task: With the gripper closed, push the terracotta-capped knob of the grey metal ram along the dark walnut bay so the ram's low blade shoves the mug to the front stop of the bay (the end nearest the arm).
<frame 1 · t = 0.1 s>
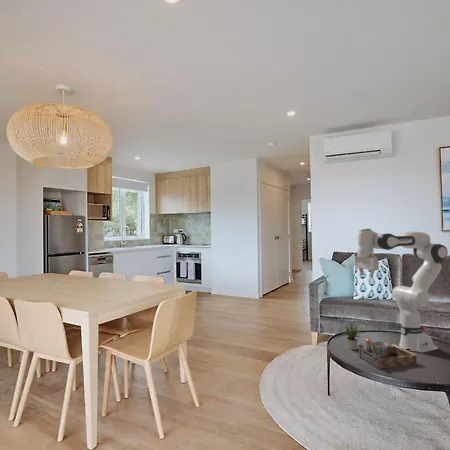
hand: (366, 276, 211), 48 cm above the table, fingers open, 8 cm apart
bay: (386, 360, 195), on the table
ram: (386, 360, 195), resting on bay, slide at 0.0 cm
mug: (380, 361, 194), on the table
house plant: (354, 348, 217), on the table
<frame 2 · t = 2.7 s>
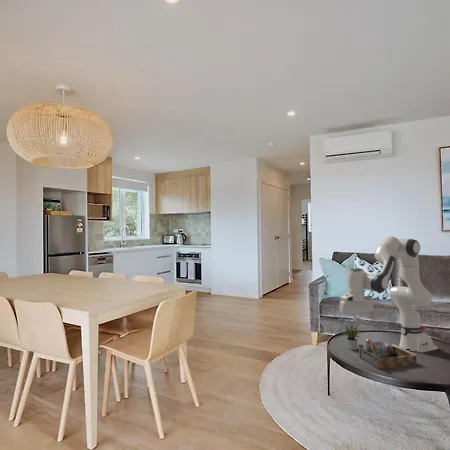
hand: (356, 320, 192), 25 cm above the table, fingers closed
nothing on the table moved.
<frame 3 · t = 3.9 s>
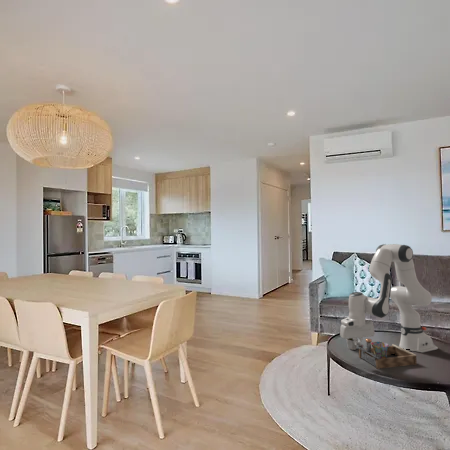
hand: (357, 344, 192), 11 cm above the table, fingers closed
nothing on the table moved.
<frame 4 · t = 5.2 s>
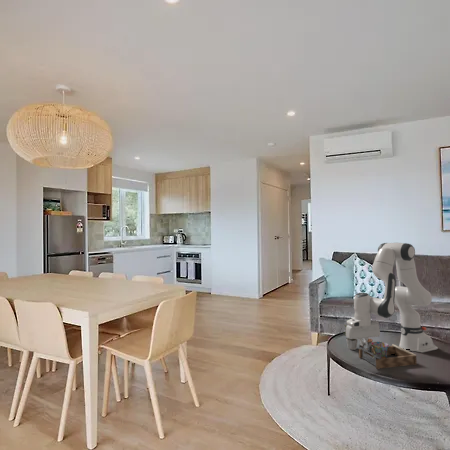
hand: (363, 345, 193), 10 cm above the table, fingers closed
ram: (386, 360, 195), resting on bay, slide at 0.5 cm, touching gripper
everything else where it was.
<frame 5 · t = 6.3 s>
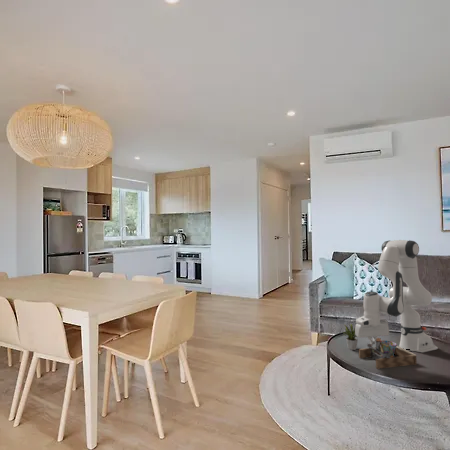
hand: (372, 343, 194), 11 cm above the table, fingers closed
ram: (395, 359, 196), resting on bay, slide at 6.1 cm, touching gripper
mug: (386, 360, 195), on the table
everything else where it was.
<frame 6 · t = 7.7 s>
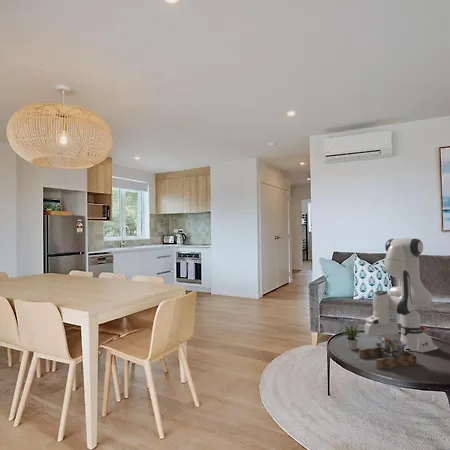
hand: (382, 342, 195), 11 cm above the table, fingers closed
ram: (404, 358, 198), resting on bay, slide at 12.3 cm, touching gripper, mug
mug: (396, 359, 196), on the table, touching ram
everything else where it was.
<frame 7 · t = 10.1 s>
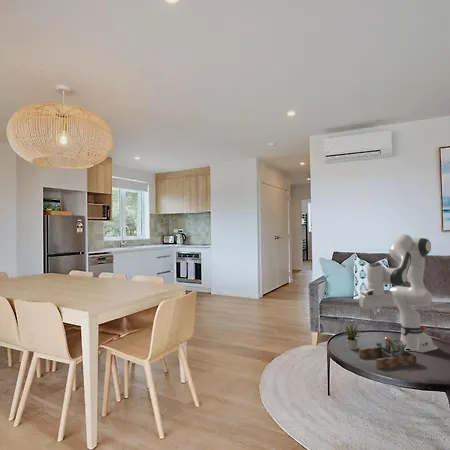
hand: (376, 314, 195), 28 cm above the table, fingers closed
ram: (404, 358, 198), resting on bay, slide at 12.5 cm, touching mug
everything else where it was.
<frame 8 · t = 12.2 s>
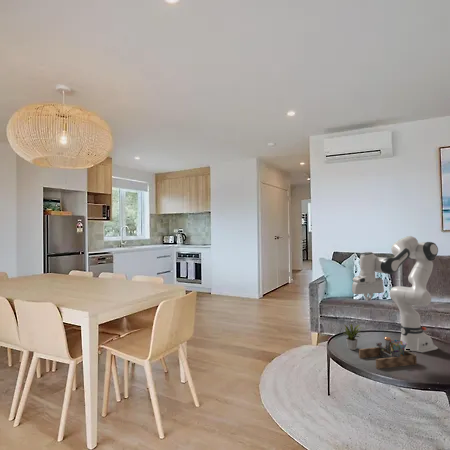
hand: (368, 300, 207), 33 cm above the table, fingers closed
nothing on the table moved.
at the end: mug inside the target area (0.4 cm from its centre), on the table; mug tilted 5°; ram slide at 12.5 cm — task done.
